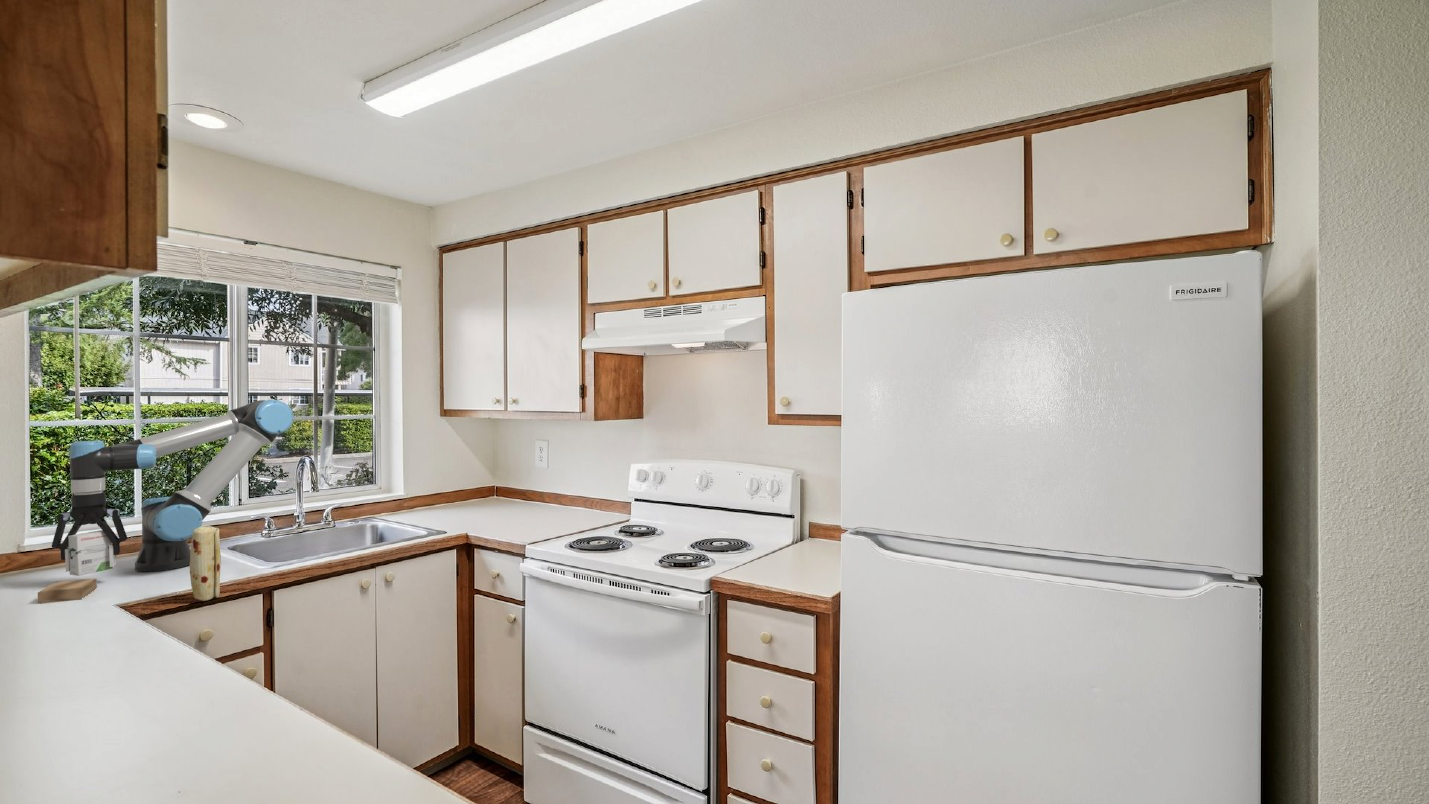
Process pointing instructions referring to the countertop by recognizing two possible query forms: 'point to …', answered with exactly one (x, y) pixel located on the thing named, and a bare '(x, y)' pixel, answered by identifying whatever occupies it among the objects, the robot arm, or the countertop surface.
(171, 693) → the countertop surface
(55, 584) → the base
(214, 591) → the food model
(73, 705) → the countertop surface
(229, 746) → the countertop surface
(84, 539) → the ink box
